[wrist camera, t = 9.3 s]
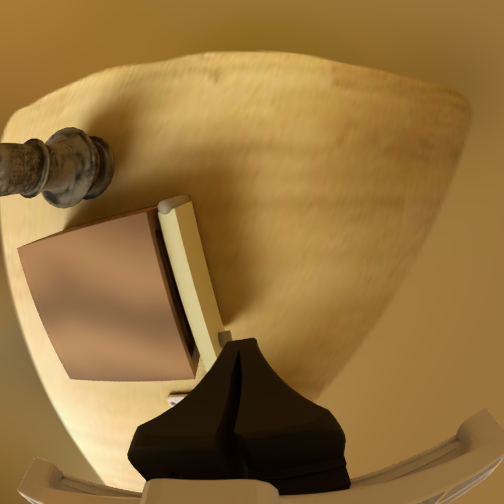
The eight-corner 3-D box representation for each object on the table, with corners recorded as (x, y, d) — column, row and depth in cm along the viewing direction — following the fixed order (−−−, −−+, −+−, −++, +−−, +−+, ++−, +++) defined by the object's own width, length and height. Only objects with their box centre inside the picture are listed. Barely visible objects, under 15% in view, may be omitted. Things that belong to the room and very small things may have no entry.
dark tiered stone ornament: (119, 128, 18) (14, 96, 7) (117, 202, 20) (9, 231, 8) (63, 137, 18) (-42, 127, 6) (61, 204, 20) (-44, 232, 8)
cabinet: (205, 331, 23) (195, 378, 17) (99, 340, 23) (70, 379, 17) (174, 201, 20) (146, 211, 14) (62, 230, 20) (17, 248, 14)
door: (234, 327, 23) (232, 369, 17) (213, 331, 23) (206, 372, 17) (201, 190, 20) (185, 194, 14) (177, 195, 20) (154, 202, 14)
